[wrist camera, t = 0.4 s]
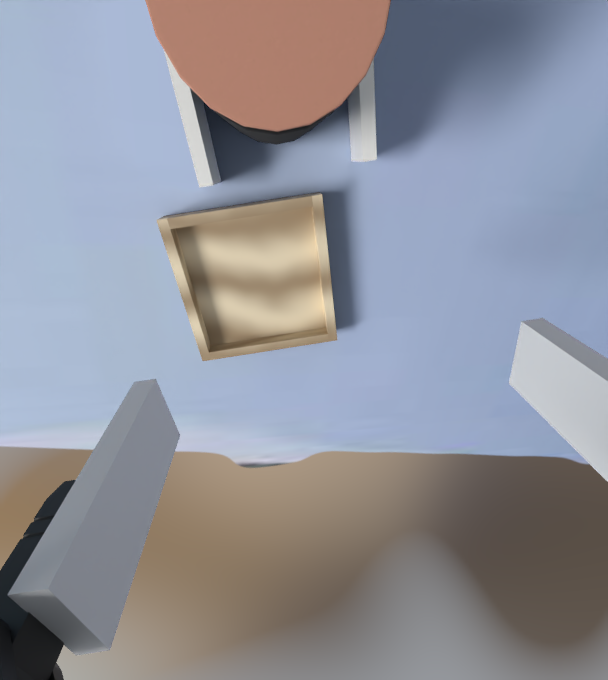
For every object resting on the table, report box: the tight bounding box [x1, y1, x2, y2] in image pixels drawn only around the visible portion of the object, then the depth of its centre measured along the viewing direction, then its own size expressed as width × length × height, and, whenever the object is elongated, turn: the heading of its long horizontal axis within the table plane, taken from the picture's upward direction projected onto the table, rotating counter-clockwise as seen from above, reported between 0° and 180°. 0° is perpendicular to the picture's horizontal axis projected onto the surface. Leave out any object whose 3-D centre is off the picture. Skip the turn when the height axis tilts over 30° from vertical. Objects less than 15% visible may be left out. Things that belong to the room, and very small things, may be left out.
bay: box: [164, 50, 377, 187], centre depth 28 cm, size 15×15×5 cm
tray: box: [157, 192, 337, 361], centre depth 37 cm, size 16×16×2 cm
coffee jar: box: [145, 0, 391, 144], centre depth 22 cm, size 11×11×18 cm
